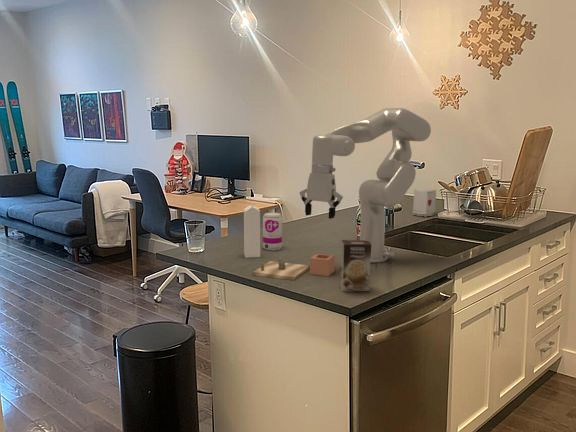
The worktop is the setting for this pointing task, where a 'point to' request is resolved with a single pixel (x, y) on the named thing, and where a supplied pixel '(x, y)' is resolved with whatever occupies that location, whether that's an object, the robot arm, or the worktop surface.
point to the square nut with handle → (322, 264)
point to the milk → (251, 231)
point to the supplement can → (272, 231)
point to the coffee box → (355, 265)
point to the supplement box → (424, 201)
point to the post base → (281, 270)
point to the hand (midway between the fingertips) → (319, 216)
